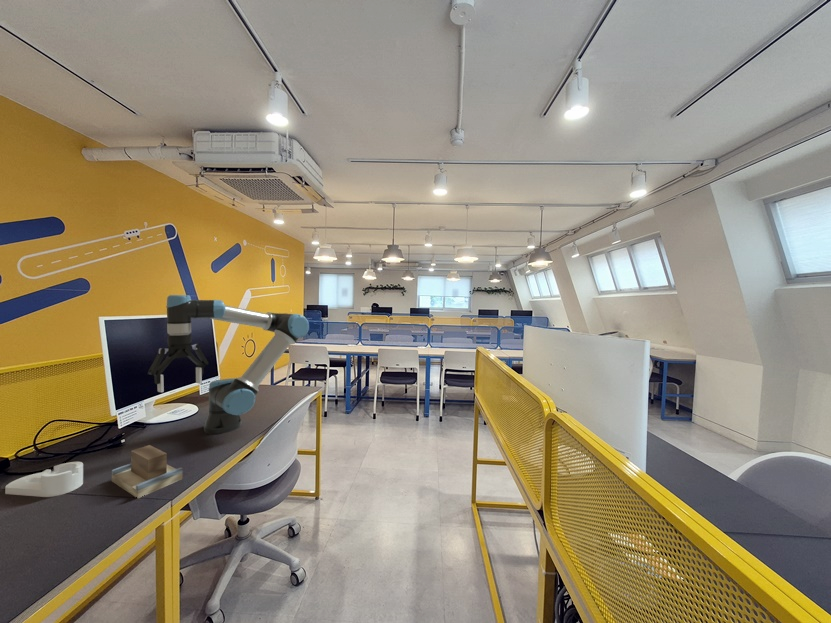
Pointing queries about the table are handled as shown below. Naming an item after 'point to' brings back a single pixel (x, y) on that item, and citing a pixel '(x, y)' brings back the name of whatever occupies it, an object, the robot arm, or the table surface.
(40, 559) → the table surface
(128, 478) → the cream tray
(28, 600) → the table surface
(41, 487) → the white elongated piece
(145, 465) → the brown boxy block
